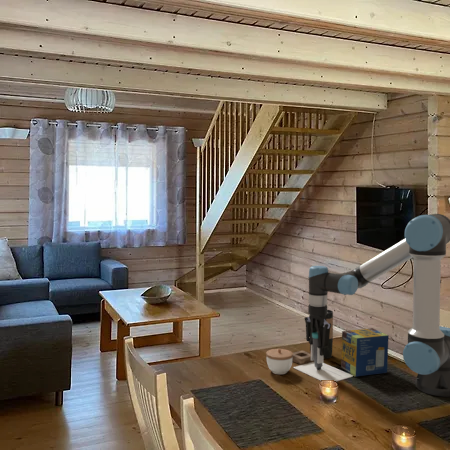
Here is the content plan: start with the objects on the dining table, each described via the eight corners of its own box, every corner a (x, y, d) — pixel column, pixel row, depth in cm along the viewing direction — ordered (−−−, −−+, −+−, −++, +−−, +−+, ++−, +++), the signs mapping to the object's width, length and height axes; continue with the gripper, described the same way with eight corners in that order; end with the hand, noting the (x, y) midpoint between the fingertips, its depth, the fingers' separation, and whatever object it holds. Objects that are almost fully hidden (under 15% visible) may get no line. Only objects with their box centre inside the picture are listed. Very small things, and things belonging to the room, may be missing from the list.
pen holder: (314, 361, 210) (315, 355, 210) (300, 364, 205) (300, 359, 205) (302, 355, 216) (302, 350, 216) (288, 359, 212) (288, 353, 212)
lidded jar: (262, 374, 195) (262, 351, 194) (270, 365, 205) (270, 343, 204) (289, 378, 191) (289, 354, 190) (295, 368, 201) (295, 346, 200)
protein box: (340, 367, 201) (341, 330, 200) (371, 364, 206) (373, 327, 205) (355, 377, 191) (356, 338, 190) (388, 372, 196) (389, 334, 195)
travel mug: (332, 359, 212) (333, 313, 211) (314, 358, 214) (315, 313, 212) (332, 353, 220) (333, 309, 218) (315, 352, 221) (315, 308, 220)
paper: (353, 376, 193) (353, 375, 193) (327, 384, 185) (327, 383, 185) (318, 361, 209) (318, 360, 209) (293, 367, 202) (293, 367, 202)
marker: (324, 368, 199) (322, 333, 197) (319, 371, 197) (316, 335, 195) (318, 366, 202) (315, 331, 200) (312, 368, 200) (310, 333, 198)
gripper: (339, 307, 192) (338, 365, 194) (311, 299, 206) (310, 353, 207) (325, 309, 188) (324, 369, 190) (297, 301, 202) (296, 357, 204)
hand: (317, 361), depth 199 cm, fingers closed on marker, 3 cm apart
